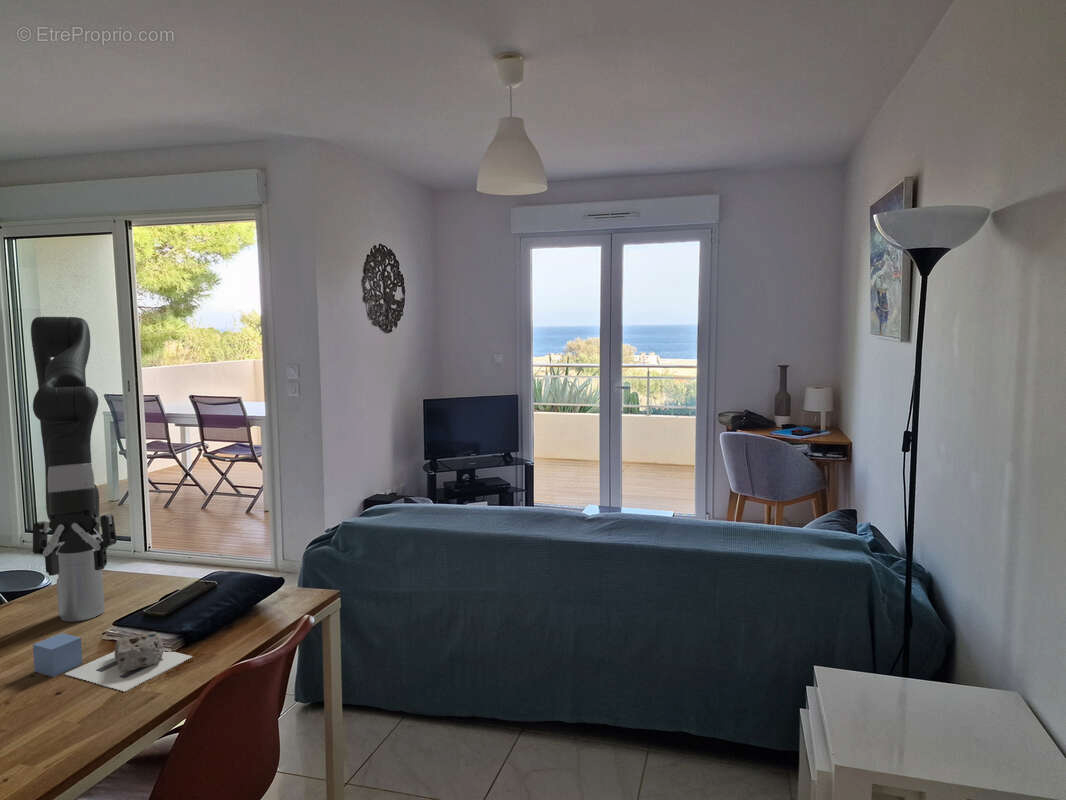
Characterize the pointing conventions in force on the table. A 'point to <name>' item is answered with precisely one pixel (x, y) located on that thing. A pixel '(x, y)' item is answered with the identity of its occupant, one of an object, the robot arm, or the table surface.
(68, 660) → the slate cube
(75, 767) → the table surface
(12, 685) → the table surface
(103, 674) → the letter card
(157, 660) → the stone
